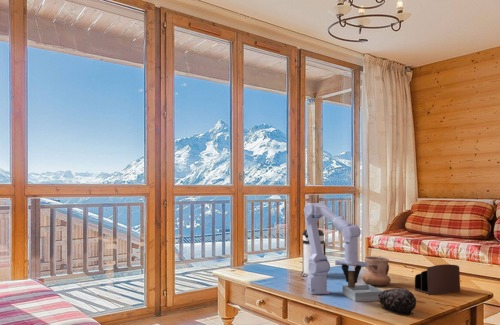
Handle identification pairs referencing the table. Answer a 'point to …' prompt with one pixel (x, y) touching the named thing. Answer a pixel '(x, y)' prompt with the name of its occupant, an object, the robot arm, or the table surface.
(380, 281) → the ceramic jug
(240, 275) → the table surface
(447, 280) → the letter holder
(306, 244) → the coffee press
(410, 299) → the pine cone
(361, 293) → the slate box
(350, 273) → the walnut peg
